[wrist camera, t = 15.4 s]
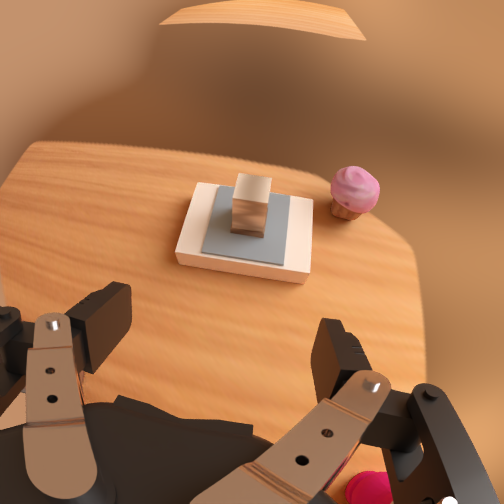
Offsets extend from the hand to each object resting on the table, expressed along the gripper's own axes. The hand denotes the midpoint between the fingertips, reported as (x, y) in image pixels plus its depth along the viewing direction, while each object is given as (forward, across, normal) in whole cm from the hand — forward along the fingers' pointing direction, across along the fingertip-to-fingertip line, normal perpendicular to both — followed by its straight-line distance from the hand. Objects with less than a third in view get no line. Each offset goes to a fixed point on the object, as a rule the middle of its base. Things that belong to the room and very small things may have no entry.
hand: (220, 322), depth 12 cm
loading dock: (+38, +1, +5) cm, 39 cm away
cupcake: (+45, -16, -1) cm, 48 cm away
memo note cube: (+35, +1, +2) cm, 35 cm away
